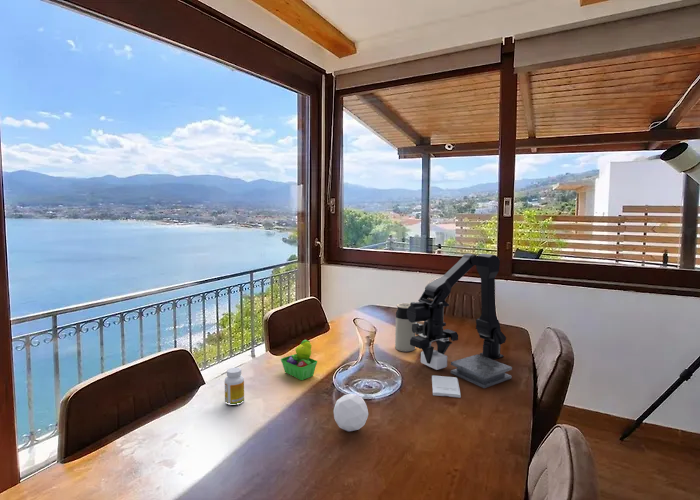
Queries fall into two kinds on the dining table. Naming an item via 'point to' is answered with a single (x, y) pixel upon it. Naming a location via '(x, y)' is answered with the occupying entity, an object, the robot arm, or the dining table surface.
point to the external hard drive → (445, 386)
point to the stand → (481, 370)
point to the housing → (435, 360)
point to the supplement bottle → (234, 386)
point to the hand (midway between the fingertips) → (433, 361)
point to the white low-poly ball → (350, 412)
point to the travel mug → (403, 329)
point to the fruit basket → (300, 362)
